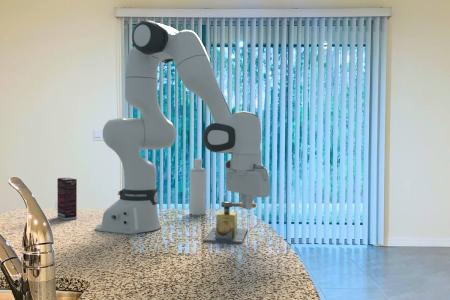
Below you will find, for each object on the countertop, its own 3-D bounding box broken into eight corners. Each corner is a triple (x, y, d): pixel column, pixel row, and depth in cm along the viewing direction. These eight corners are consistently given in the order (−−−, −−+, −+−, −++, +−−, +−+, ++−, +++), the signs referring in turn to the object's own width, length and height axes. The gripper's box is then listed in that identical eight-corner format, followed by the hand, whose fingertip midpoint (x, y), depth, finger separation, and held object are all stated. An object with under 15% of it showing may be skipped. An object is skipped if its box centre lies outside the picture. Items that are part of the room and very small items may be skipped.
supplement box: (77, 219, 153) (77, 178, 152) (64, 220, 150) (64, 179, 149) (69, 215, 159) (68, 177, 159) (56, 217, 156) (56, 178, 155)
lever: (220, 207, 125) (220, 202, 125) (222, 205, 129) (222, 201, 129) (255, 208, 124) (255, 204, 123) (256, 206, 127) (256, 202, 127)
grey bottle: (187, 214, 164) (187, 155, 163) (195, 211, 170) (195, 154, 169) (200, 215, 161) (200, 155, 160) (208, 213, 167) (208, 155, 166)
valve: (203, 242, 120) (203, 211, 119) (213, 229, 136) (213, 202, 136) (241, 244, 118) (242, 212, 117) (247, 231, 134) (247, 203, 134)
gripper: (275, 165, 112) (275, 213, 112) (238, 162, 130) (238, 203, 130) (257, 165, 109) (257, 214, 109) (222, 162, 127) (222, 205, 127)
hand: (246, 208), depth 119 cm, fingers closed
